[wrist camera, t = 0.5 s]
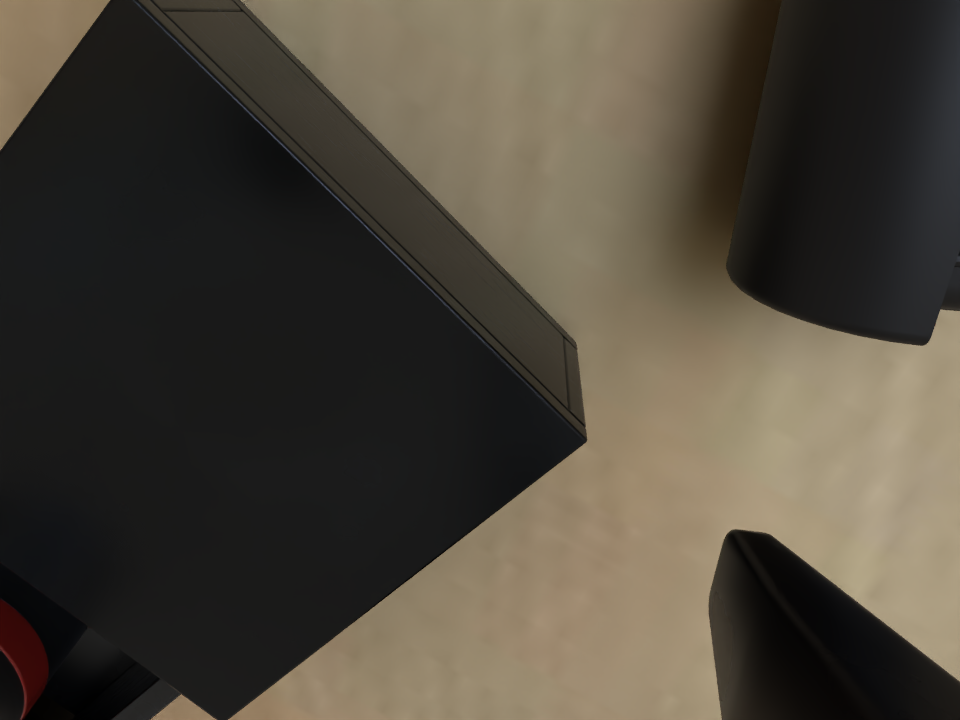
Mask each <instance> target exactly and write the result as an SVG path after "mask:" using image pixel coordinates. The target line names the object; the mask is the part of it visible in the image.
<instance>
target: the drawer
mask: <svg viewBox="0 0 960 720" xmlns="http://www.w3.org/2000/svg"><path fill="white" fill-rule="evenodd" d="M179 695H181V693H179V692H178V691H177V690H175V689H174V688H172V687H171V686H170V685H168V684H167V683H165V682H164V681H163V680H161V679H160V678H159V677H157V676H156V675H154V674H153V673H152V672H150V671H149V670H148V669H146V668H145V667H143V666H142V665H141V664H139V663H138V662H136V661H135V660H134V659H132V658H131V657H130V656H128V655H127V654H125V653H124V652H123V651H121V650H120V649H119V648H117V647H116V646H114V645H113V644H112V643H110V642H109V641H107V640H106V639H105V638H103V637H102V636H101V635H99V634H98V633H96V632H95V631H94V630H92V629H91V628H90V627H88V626H87V628H86V630H85V632H84V634H83V635H82V637H81V638H80V639H79V641H78V642H77V644H76V645H75V646H74V648H73V649H72V650H71V652H70V653H69V654H68V656H67V657H66V659H65V660H64V661H63V663H62V664H61V665H60V667H59V668H58V669H57V671H56V672H55V674H54V675H53V676H52V678H51V679H50V680H49V682H48V683H47V684H46V686H45V689H44V691H43V692H42V694H41V695H40V697H39V698H38V700H37V701H36V702H35V704H34V705H33V707H32V708H31V709H30V711H29V712H28V713H27V715H26V716H25V717H24V719H23V720H150V719H151V718H153V717H154V716H155V715H156V714H157V713H159V712H160V711H161V710H162V709H164V708H165V707H166V706H167V705H168V704H170V703H171V702H172V701H173V700H175V699H176V698H177V697H178V696H179Z"/></svg>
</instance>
